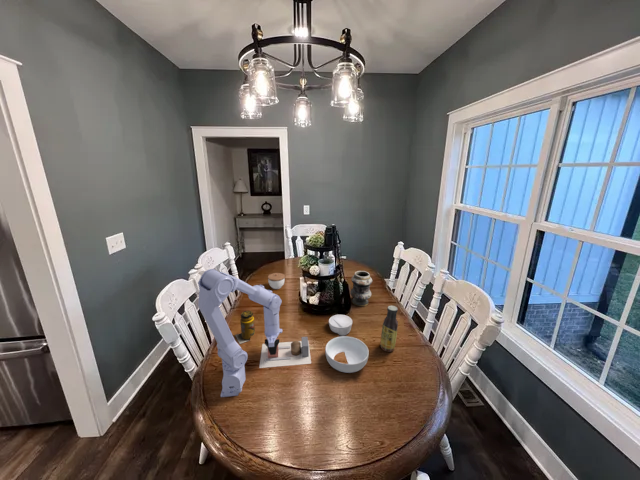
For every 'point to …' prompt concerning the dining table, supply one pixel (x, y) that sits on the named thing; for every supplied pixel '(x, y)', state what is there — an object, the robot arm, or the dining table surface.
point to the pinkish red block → (273, 355)
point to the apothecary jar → (361, 288)
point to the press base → (286, 355)
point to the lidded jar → (276, 280)
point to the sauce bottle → (389, 330)
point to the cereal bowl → (347, 353)
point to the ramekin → (340, 324)
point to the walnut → (295, 348)
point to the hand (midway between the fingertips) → (273, 350)
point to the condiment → (246, 327)
